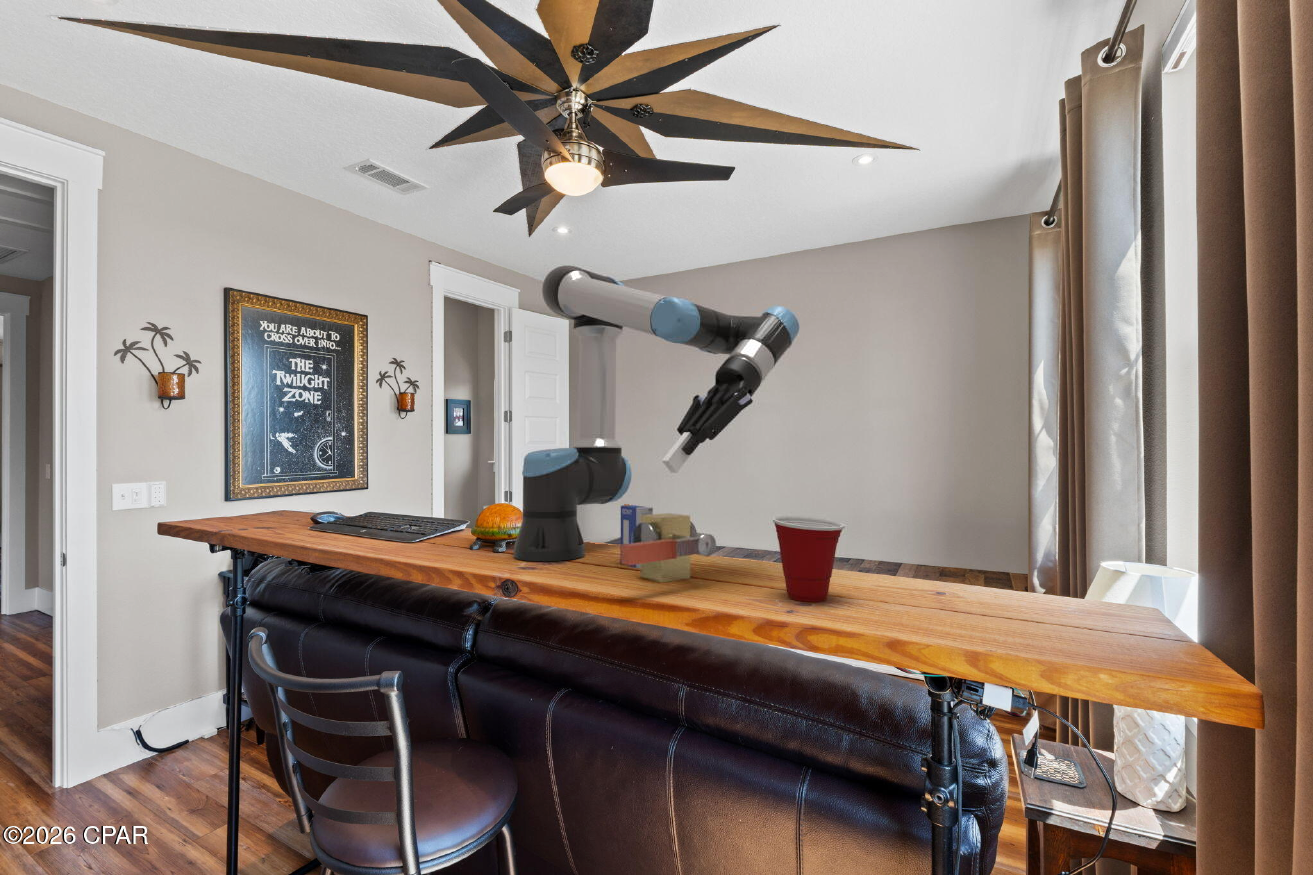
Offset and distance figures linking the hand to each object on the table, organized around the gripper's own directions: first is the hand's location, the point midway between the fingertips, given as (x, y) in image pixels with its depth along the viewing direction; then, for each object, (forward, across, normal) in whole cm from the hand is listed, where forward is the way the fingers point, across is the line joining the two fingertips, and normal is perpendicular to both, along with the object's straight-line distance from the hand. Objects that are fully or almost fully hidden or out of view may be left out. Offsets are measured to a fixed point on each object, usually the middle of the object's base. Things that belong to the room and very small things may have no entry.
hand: (669, 466), depth 91 cm
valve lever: (+3, 0, -15) cm, 16 cm away
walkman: (+7, +23, -21) cm, 32 cm away
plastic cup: (+3, -15, -25) cm, 29 cm away
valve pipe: (+9, +7, -19) cm, 22 cm away
